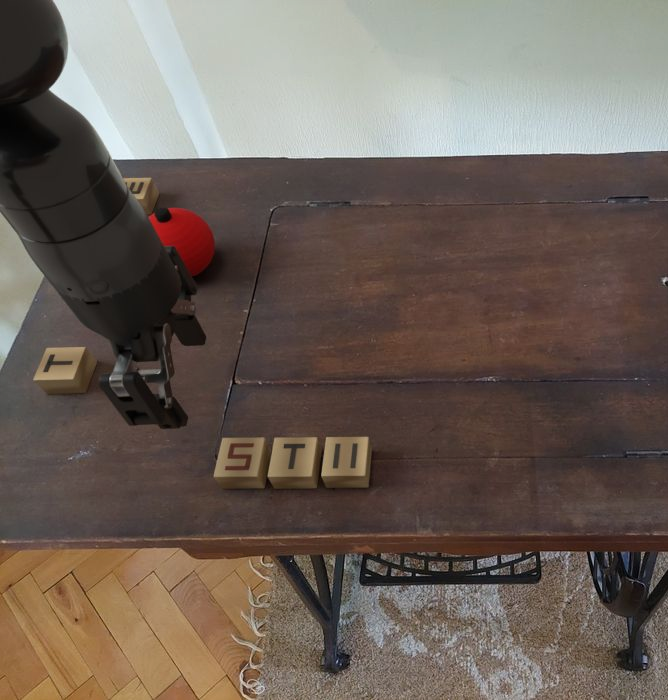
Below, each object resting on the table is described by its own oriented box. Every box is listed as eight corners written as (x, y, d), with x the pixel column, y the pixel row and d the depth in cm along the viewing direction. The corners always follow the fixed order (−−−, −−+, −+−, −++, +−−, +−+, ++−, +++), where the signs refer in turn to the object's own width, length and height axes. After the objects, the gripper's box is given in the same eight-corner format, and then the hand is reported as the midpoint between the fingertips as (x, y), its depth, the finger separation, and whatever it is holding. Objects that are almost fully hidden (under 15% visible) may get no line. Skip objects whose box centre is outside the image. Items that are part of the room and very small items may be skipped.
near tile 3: (326, 488, 68) (320, 475, 66) (330, 449, 71) (325, 436, 69) (368, 487, 68) (365, 475, 66) (372, 449, 71) (368, 435, 69)
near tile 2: (274, 488, 68) (267, 476, 66) (281, 450, 71) (274, 437, 69) (317, 488, 68) (311, 476, 66) (322, 449, 71) (317, 436, 69)
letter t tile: (85, 393, 75) (72, 378, 73) (46, 394, 75) (32, 379, 73) (97, 361, 78) (85, 346, 75) (59, 362, 78) (46, 347, 75)
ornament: (154, 299, 84) (120, 243, 76) (154, 250, 89) (123, 193, 81) (225, 285, 85) (200, 229, 77) (222, 238, 90) (198, 181, 82)
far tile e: (151, 214, 93) (143, 198, 90) (120, 215, 93) (110, 198, 90) (159, 193, 95) (151, 177, 93) (128, 194, 95) (119, 177, 93)
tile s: (222, 489, 68) (212, 476, 66) (230, 450, 71) (222, 437, 69) (264, 488, 68) (257, 476, 66) (271, 450, 71) (264, 436, 69)
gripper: (78, 187, 49) (161, 320, 62) (10, 339, 40) (123, 456, 54) (179, 183, 49) (240, 317, 62) (132, 334, 41) (214, 451, 54)
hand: (186, 381), depth 58 cm, fingers open, 8 cm apart
